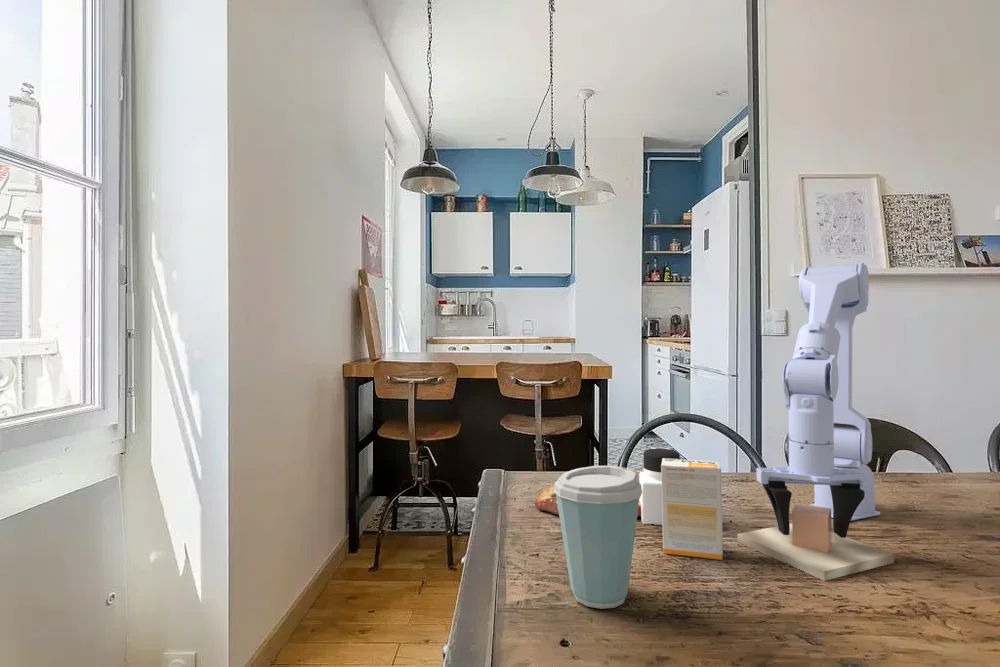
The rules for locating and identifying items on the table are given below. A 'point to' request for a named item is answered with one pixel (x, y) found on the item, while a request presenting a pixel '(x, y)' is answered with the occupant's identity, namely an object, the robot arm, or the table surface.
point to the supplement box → (692, 508)
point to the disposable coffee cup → (598, 531)
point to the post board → (817, 553)
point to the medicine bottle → (653, 484)
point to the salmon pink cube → (811, 527)
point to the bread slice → (549, 502)
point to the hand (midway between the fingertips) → (811, 533)
